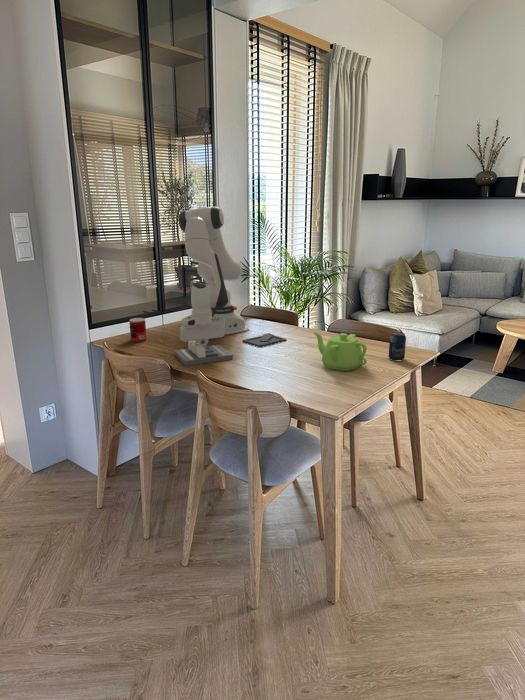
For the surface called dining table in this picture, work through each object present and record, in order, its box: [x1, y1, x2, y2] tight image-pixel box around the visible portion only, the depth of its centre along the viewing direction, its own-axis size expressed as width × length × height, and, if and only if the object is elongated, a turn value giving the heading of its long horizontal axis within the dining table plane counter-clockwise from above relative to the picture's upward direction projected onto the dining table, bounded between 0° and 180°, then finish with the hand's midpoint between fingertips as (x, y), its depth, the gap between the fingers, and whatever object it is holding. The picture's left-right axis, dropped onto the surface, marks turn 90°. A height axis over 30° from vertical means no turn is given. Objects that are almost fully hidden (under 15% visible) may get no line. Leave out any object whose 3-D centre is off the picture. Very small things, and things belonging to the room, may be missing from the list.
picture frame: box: [242, 332, 287, 348], centre depth 248 cm, size 13×2×18 cm
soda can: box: [388, 331, 407, 361], centre depth 217 cm, size 7×7×12 cm
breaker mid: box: [192, 342, 201, 354], centre depth 221 cm, size 3×4×4 cm
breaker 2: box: [196, 346, 205, 358], centre depth 216 cm, size 3×4×4 cm
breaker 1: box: [187, 340, 198, 351], centre depth 226 cm, size 3×4×4 cm
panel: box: [173, 344, 234, 367], centre depth 223 cm, size 22×18×2 cm
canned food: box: [129, 317, 147, 343], centre depth 249 cm, size 8×8×11 cm
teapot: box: [312, 331, 368, 372], centre depth 208 cm, size 19×20×14 cm
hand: (203, 348), depth 222 cm, fingers closed
